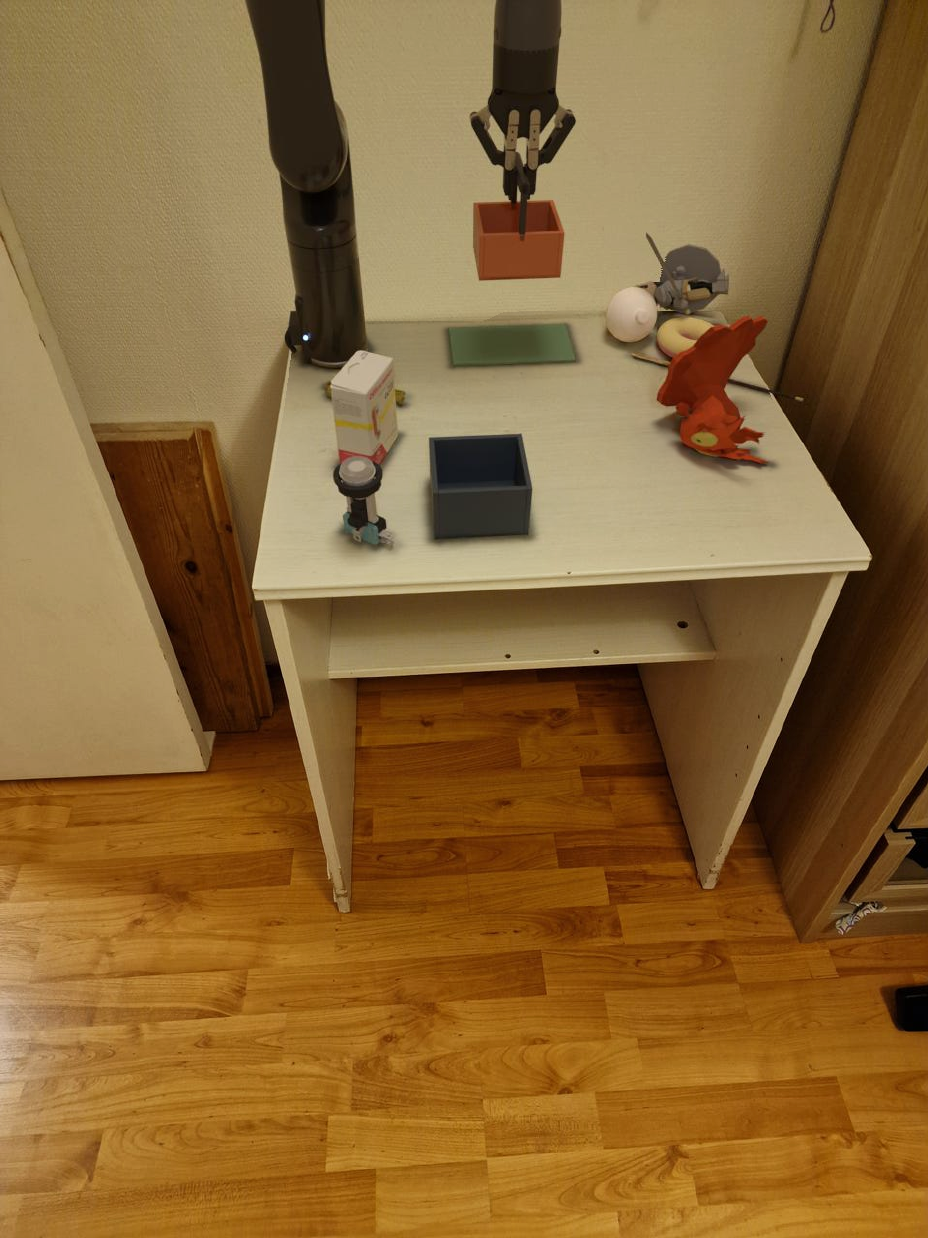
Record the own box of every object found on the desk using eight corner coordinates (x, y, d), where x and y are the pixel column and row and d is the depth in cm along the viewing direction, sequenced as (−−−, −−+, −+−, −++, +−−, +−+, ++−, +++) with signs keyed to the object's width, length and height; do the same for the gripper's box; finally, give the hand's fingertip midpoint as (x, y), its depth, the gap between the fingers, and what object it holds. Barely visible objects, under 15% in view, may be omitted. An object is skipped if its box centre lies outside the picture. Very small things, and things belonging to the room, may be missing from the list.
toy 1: (713, 176, 108) (605, 202, 115) (708, 244, 105) (598, 266, 112) (734, 276, 125) (639, 294, 132) (730, 337, 122) (633, 352, 129)
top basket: (478, 280, 107) (480, 183, 98) (472, 246, 113) (473, 152, 104) (560, 277, 108) (569, 180, 98) (549, 243, 114) (557, 150, 105)
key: (408, 388, 110) (393, 407, 107) (409, 396, 111) (394, 416, 108) (332, 371, 113) (315, 390, 110) (333, 379, 114) (316, 398, 111)
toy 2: (640, 380, 100) (712, 464, 94) (761, 288, 97) (843, 369, 90) (658, 425, 111) (723, 503, 105) (767, 344, 108) (841, 419, 102)
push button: (406, 534, 94) (401, 466, 86) (378, 561, 91) (371, 493, 83) (361, 513, 96) (352, 444, 88) (332, 538, 93) (321, 470, 85)
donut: (687, 385, 117) (732, 358, 120) (695, 361, 113) (742, 333, 116) (641, 345, 121) (685, 320, 124) (647, 321, 117) (693, 295, 119)
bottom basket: (434, 539, 93) (432, 493, 88) (430, 483, 99) (428, 437, 94) (528, 534, 94) (532, 488, 88) (518, 479, 100) (521, 433, 95)
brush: (630, 352, 117) (803, 399, 110) (633, 349, 118) (804, 395, 111) (629, 357, 118) (801, 404, 111) (632, 354, 119) (802, 400, 112)
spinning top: (618, 347, 128) (649, 355, 117) (581, 321, 125) (608, 326, 114) (645, 302, 126) (679, 306, 115) (608, 275, 123) (639, 276, 112)
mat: (453, 366, 116) (453, 363, 116) (448, 330, 123) (448, 327, 123) (575, 361, 117) (575, 359, 117) (564, 326, 124) (565, 323, 124)
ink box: (374, 475, 100) (366, 393, 91) (338, 466, 101) (326, 385, 92) (400, 435, 106) (395, 355, 97) (366, 428, 107) (357, 347, 98)
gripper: (580, 27, 94) (565, 184, 107) (464, 28, 93) (463, 187, 106) (592, 45, 89) (575, 208, 102) (469, 48, 88) (468, 211, 101)
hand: (518, 197), depth 104 cm, fingers closed on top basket, 1 cm apart
